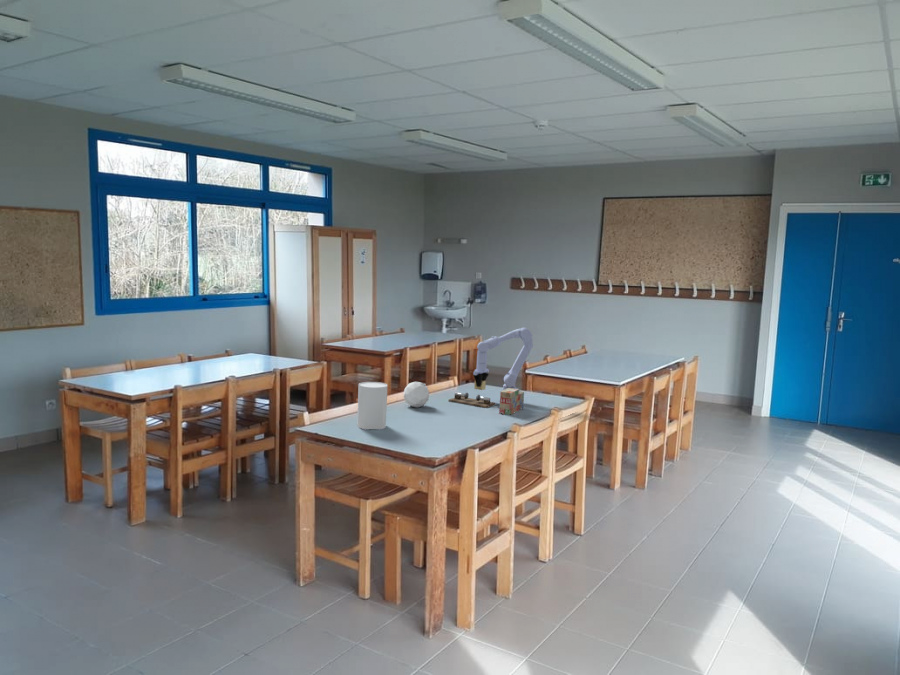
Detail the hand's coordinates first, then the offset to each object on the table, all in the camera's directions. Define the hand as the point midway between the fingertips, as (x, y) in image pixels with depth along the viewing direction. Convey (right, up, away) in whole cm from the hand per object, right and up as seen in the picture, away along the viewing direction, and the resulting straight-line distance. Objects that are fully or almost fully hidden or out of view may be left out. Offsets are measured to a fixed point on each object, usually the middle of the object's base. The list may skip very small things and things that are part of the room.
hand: (480, 386), depth 385 cm
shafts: (-5, -7, -7) cm, 11 cm away
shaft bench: (-5, -9, -7) cm, 12 cm away
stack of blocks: (+16, -12, -21) cm, 29 cm away
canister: (-55, -14, -69) cm, 89 cm away
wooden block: (0, -2, 0) cm, 2 cm away
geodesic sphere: (-36, -10, -23) cm, 44 cm away
